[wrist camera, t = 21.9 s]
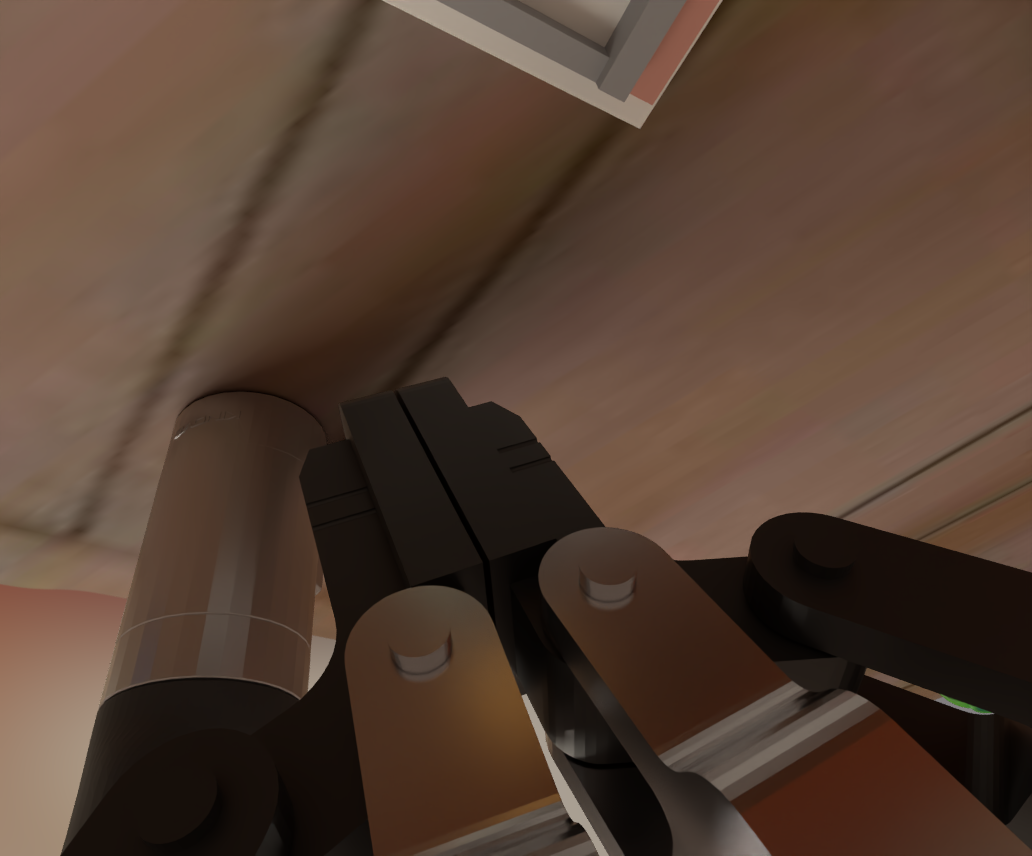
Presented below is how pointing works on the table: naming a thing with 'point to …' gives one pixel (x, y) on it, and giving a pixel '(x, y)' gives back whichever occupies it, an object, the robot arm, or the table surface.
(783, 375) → the table surface
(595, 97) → the panel
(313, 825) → the robot arm
